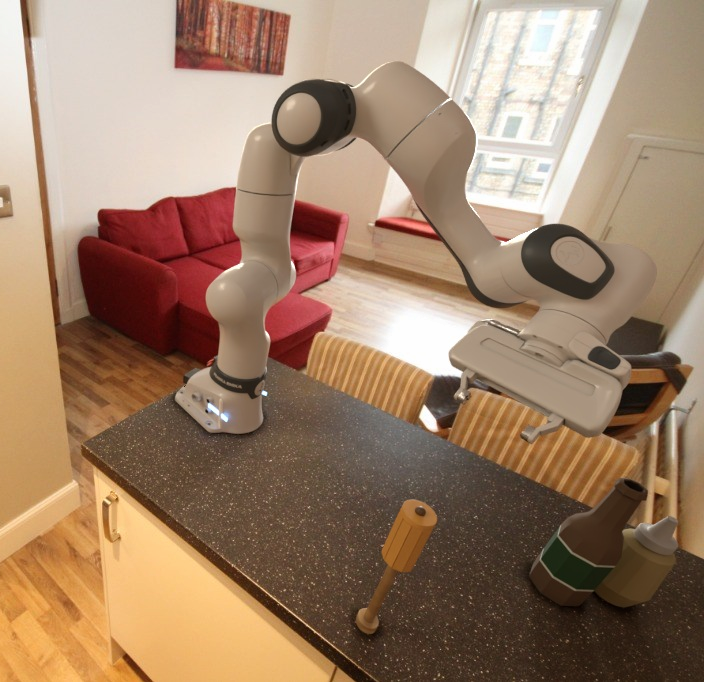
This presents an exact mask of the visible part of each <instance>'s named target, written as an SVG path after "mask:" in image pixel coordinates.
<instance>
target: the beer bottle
mask: <svg viewBox="0 0 704 682" xmlns="http://www.w3.org/2000/svg"><path fill="white" fill-rule="evenodd" d="M648 495H649V490H648V489H647V488H646V486H644V485H642V484H641V483H640V482H638V481H636V480H633V479H631V478H628V477H619V478H617V479H615V480H614V485H613V487H612V488H611V489H610V490H609V491H608V493H606V494H605V496H604V497H602V499H601V500H600V501H599V502H598V503H597V505H596V506H594V507H593V508H592V509H590V510H589V511H585V512H578V513H574V514H572V515H570V516H568V517H566V518H565V519H564V521H563V522H562V523H561V524H560V525H559V526H558V528H557V530H556V531H555V532H554V533H553V535H552V537H550V539H549V540H548V542H547V543H546V544H545V546H544V547H543V548H542V550H541V551H540V553H539V554H538V556H537V557H536V558H535V560H534V562H533V563H532V565H531V569H530V571H529V575H528V577H529V579H530V581H531V582H532V583H533V585H534V586H535V588H536V590H537V591H538V592H539V593H540V594H541V595H542V596H544V597H545V598H547V599H549V600H550V601H552V602H554V603H555V604H557V605H558V606H561V607H580V606H581V605H582V604H583V603H584V602H585V601H586V600H587V599H588V598H589V597H590V596H591V595H592V593H593V592H594V590H595V589H596V588H597V587H598V585H599V584H600V583H601V582H602V581H603V580H604V579H605V577H606V576H607V575H608V574H609V573H610V572H611V571H612V570H613V568H614V567H615V566H616V565H617V563H618V562H619V560H620V559H621V556H622V549H623V541H624V536H623V533H622V531H623V530H624V528H625V526H626V525H627V523H629V521H630V519H631V518H632V516H633V515H634V513H635V511H637V509H638V507H639V506H640V504H641V503H642V501H643V502H644V501H645V502H646V501H647V499H648Z"/></svg>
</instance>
